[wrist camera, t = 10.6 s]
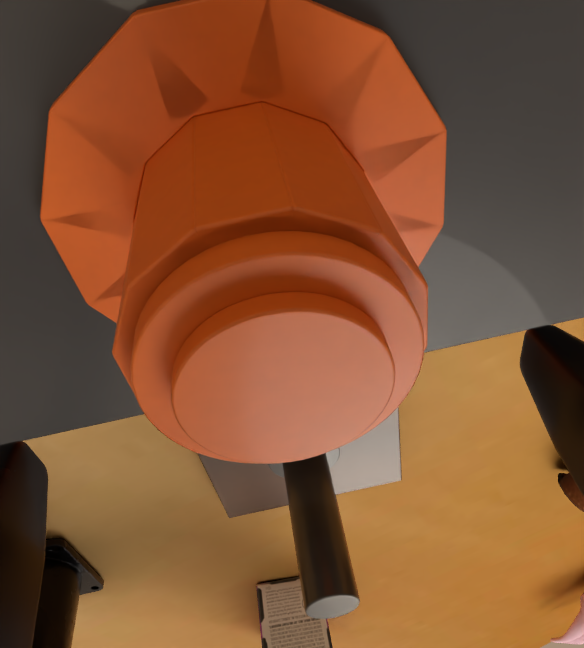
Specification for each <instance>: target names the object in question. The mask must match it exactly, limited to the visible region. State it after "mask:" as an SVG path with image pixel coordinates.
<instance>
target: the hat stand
mask: <svg viewBox="0 0 584 648" xmlns="http://www.w3.org/2000/svg"><path fill="white" fill-rule="evenodd" d="M198 455H199V457H200V460H201V462H202V464H203V466H204V468H205V470H206V472H207V474H208V476H209V478H210V480H211V482H212V484H213V486H214V488H215V490H216V492H217V494H218V496H219V498H220V500H221V502H222V504H223V506H224V508H225V510H226V513H227V515H228V517H229V518H232V517H236V516H241V515H246V514H250V513H255V512H259V511H264V510H268V509H273V508H277V507H282V506H286V505H289V510H290V516H291V523H292V530H293V536H294V543H295V549H296V556H297V563H298V569H299V576H300V582H301V589H302V595H303V602H304V609H305V612H306V614H307V615H308V616H309V617H312V618H317V619H328V618H335V617H339V616H342V615H345V614H347V613H349V612H351V611H353V610H354V609H356V608H357V607H358V605H359V602H360V599H359V595H358V590H357V586H356V582H355V577H354V573H353V569H352V564H351V560H350V556H349V551H348V547H347V543H346V538H345V534H344V530H343V525H342V521H341V516H340V512H339V508H338V503H337V499H336V494H341V493H346V492H350V491H355V490H359V489H364V488H368V487H373V486H377V485H382V484H386V483H391V482H396V481H400V480H402V476H401V453H400V430H399V407H398V408H397V409H396V410H395V411H394V412H393V413H392V414H391V415H390V416H388V417H387V418H386V419H385V420H384V421H383V422H381V423H380V424H379V425H378V426H376V427H375V428H374V429H372V430H370V431H369V432H367V433H366V434H364V435H363V436H361V437H359V438H357V439H356V440H354V441H352V442H350V443H348V444H346V445H343V446H341V447H339V448H337V449H334V450H331V451H329V452H327V453H324V454H321V455H318V456H315V457H311V458H308V459H304V460H299V461H293V462H286V463H272V464H261V463H259V464H255V463H239V462H232V461H225V460H220V459H216V458H212V457H208V456H205V455H202V454H199V453H198Z"/></svg>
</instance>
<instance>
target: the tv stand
mask: <svg viewBox="0 0 584 648" xmlns="http://www.w3.org/2000/svg"><path fill="white" fill-rule="evenodd" d="M176 1H180V0H0V445H1V444H6V443H10V442H15V441H24V440H28V439H33V438H38V437H42V436H47V435H51V434H56V433H60V432H65V431H69V430H74V429H78V428H83V427H88V426H92V425H97V424H101V423H106V422H110V421H115V420H119V419H124V418H128V417H133V416H138V415H142V414H144V412H143V411H142V409H141V408H140V406H139V403H138V401H137V399H136V397H135V395H134V392H133V391H132V389H131V387H130V386H129V384H128V382H127V380H126V378H125V376H124V375H123V373H122V371H121V369H120V367H119V366H118V364H117V362H116V360H115V359H114V357H113V354H112V349H113V343H114V337H115V331H116V326H117V323H116V322H114V321H112V320H111V319H109V318H108V317H106V316H105V315H103V314H102V313H100V312H98V311H97V310H95V309H94V308H92V307H91V306H89V305H88V304H87V303H86V301H85V299H84V298H83V296H82V294H81V292H80V290H79V289H78V287H77V285H76V283H75V281H74V280H73V278H72V276H71V274H70V272H69V271H68V269H67V267H66V265H65V263H64V262H63V260H62V258H61V256H60V254H59V253H58V251H57V249H56V247H55V245H54V244H53V242H52V240H51V238H50V236H49V235H48V233H47V231H46V229H45V227H44V226H43V224H42V222H41V219H40V209H41V197H42V185H43V173H44V162H45V150H46V138H47V126H48V114H49V111H50V107H51V106H52V104H53V103H54V101H55V100H56V99H57V98H58V97H59V96H60V95H61V93H62V92H63V91H64V90H65V89H66V88H67V87H68V86H69V84H70V83H71V82H72V81H73V80H74V79H75V78H76V76H77V75H78V74H79V73H80V72H81V71H82V70H83V69H84V67H85V66H86V65H87V64H88V63H89V62H90V61H91V60H92V58H93V57H94V56H95V55H96V54H97V53H98V52H99V51H100V49H101V48H102V47H103V46H104V45H105V44H106V43H107V41H108V40H109V39H110V38H111V37H112V36H113V35H114V34H115V32H116V31H117V30H118V29H119V28H120V27H121V26H122V25H123V23H124V22H125V21H126V20H127V19H128V18H129V17H130V15H131V14H132V13H133V12H136V11H137V10H140V9H144V8H149V7H153V6H158V5H162V4H167V3H171V2H176ZM312 1H314V2H317V3H319V4H322V5H324V6H326V7H329V8H331V9H334V10H336V11H338V12H341V13H343V14H345V15H348V16H350V17H353V18H355V19H357V20H360V21H362V22H365V23H367V24H369V25H372V26H374V27H377V28H379V29H381V30H383V31H384V32H385V33H386V34H387V35H388V36H390V38H391V40H392V41H393V43H394V44H395V46H396V48H397V49H398V51H399V52H400V54H401V56H402V57H403V59H404V61H405V62H406V64H407V65H408V67H409V69H410V70H411V72H412V73H413V75H414V77H415V78H416V80H417V81H418V83H419V85H420V86H421V88H422V89H423V91H424V93H425V94H426V96H427V97H428V99H429V101H430V102H431V104H432V106H433V107H434V109H435V110H436V112H437V114H438V115H439V117H440V118H441V120H442V122H443V123H444V125H445V126H446V130H447V137H446V168H445V199H444V224H443V227H442V229H441V230H440V232H439V234H438V235H437V237H436V239H435V240H434V242H433V244H432V245H431V247H430V249H429V250H428V252H427V254H426V255H425V257H424V259H423V260H422V262H421V264H420V265H419V267H418V268H419V270H420V272H421V273H422V275H423V277H424V279H425V280H426V282H427V285H428V334H427V348H426V349H425V351H424V352H429V351H433V350H438V349H442V348H447V347H451V346H456V345H460V344H465V343H470V342H474V341H479V340H483V339H488V338H492V337H497V336H501V335H506V334H510V333H515V332H520V331H524V330H528V329H530V328H534V327H539V326H544V325H551V324H556V323H561V322H565V321H570V320H574V319H579V318H583V317H584V0H312Z"/></svg>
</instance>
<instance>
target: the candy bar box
mask: <svg viewBox="0 0 584 648" xmlns="http://www.w3.org/2000/svg"><path fill="white" fill-rule="evenodd" d="M256 588H257V598H258V608H259V619H260V630H261V640H262V648H332V643H331V637H330V632H329V627H328V621H327V619H317V618H312V617H309V616H308V615H307V614H306V612H305V609H304V602H303V595H302V589H301V582H300V576H299V577H295V578H288V579H283V580H278V581H274V582H267V583H262V584H258V585H257V586H256Z"/></svg>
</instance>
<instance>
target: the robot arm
mask: <svg viewBox="0 0 584 648" xmlns="http://www.w3.org/2000/svg"><path fill="white" fill-rule="evenodd" d="M520 368H521V372H522V375H523V377H524V379H525V382H526V384H527V386H528V388H529V391H530V393H531V395H532V397H533V400H534V402H535V404H536V406H537V409H538V411H539V413H540V415H541V418H542V420H543V422H544V424H545V427H546V429H547V431H548V434H549V436H550V438H551V440H552V442H553V444H554V446H555V448H556V450H557V452H558V454H559V456H560V457H561V459H562V461H563V463H564V464H565V466H566V468H567V469H568V471H569V473H570V475H571V476H572V478H573V480H574V481H575V483H576V485H577V486H578V488H579V490H580V492H581V493H582V495H583V497H584V341H582V340H580V339H578V338H576V337H574V336H572V335H571V334H569V333H567V332H565V331H563V330H561V329H559V328H557V327H555V326H553V325H544V326H539V327H534V328H530V329H528V330H527V331H526V333H525V336H524V341H523V346H522V352H521V357H520ZM47 491H48V474H47V470H46V467H45V465H44V464H43V463H42V462H41V460H40V459H39V458H38V457H37V456H36V455H35V453H34V452H33V451H32V450H31V449H30V447H29V446H28V445H27V444H26V443H25V442H22V441H15V442H10V443H6V444H1V445H0V648H71V646H72V639H73V633H74V627H75V620H76V614H77V608H78V601H79V595H82V594H86V593H91V592H95V591H99V590H101V589H103V583H104V581H103V579H102V578H101V577H100V576H99V575H98V574H97V573H96V572H95V571H94V570H93V569H92V568H91V567H90V566H89V565H88V564H87V563H86V562H85V561H84V560H83V559H82V557H81V556H80V555H79V554H78V553H77V552H76V551H75V550H74V549H73V548H72V547H71V546H70V545H69V544H68V543H67V542H66V541H65V540H63V539H58V538H56V539H50V540H46V520H47Z"/></svg>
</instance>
